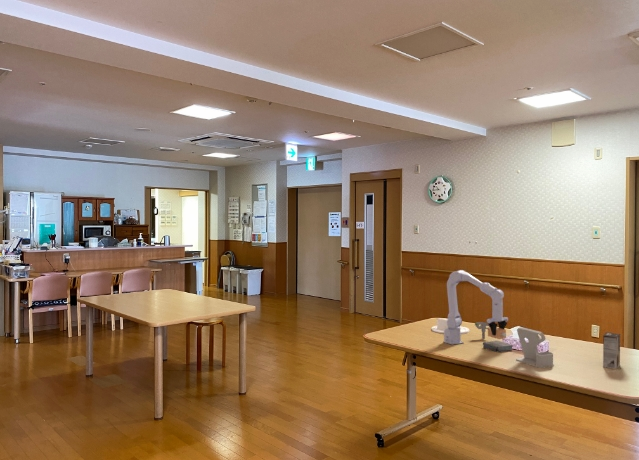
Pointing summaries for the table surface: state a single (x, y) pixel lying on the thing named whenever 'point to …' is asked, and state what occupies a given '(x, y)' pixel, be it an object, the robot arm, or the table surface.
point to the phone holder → (533, 348)
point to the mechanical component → (482, 327)
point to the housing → (497, 333)
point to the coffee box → (611, 350)
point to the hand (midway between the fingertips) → (497, 334)
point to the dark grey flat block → (497, 346)
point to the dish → (445, 326)
